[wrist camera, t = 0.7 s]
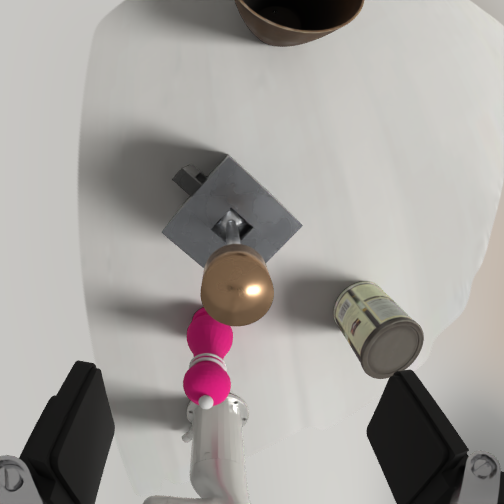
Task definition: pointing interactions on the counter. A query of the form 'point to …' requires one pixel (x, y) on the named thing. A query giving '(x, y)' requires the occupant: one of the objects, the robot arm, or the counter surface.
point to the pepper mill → (207, 360)
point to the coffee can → (377, 330)
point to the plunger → (235, 277)
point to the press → (218, 203)
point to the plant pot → (296, 19)
